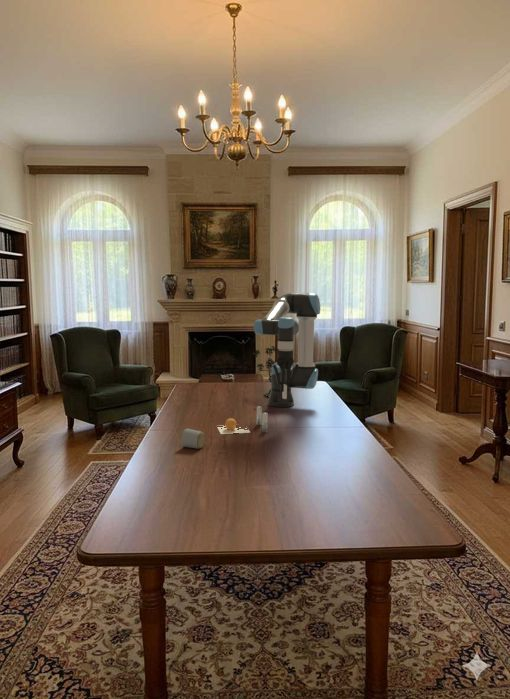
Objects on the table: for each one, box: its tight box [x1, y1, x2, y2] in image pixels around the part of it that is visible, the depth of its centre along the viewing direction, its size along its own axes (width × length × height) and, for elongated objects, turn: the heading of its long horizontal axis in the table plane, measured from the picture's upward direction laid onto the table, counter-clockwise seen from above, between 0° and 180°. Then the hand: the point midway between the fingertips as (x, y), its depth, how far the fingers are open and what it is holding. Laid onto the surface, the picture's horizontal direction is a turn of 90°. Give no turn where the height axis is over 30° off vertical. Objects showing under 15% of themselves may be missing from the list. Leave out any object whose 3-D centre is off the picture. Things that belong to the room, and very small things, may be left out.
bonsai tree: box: [252, 346, 278, 397], centre depth 311 cm, size 35×24×32 cm
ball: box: [224, 418, 238, 430], centre depth 238 cm, size 6×6×6 cm
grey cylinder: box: [180, 428, 206, 450], centre depth 213 cm, size 11×8×8 cm
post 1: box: [256, 405, 263, 426], centre depth 248 cm, size 2×2×9 cm
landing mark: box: [216, 425, 251, 435], centre depth 239 cm, size 14×14×1 cm
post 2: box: [261, 411, 269, 433], centre depth 236 cm, size 2×2×9 cm
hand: (284, 398), depth 243 cm, fingers closed
